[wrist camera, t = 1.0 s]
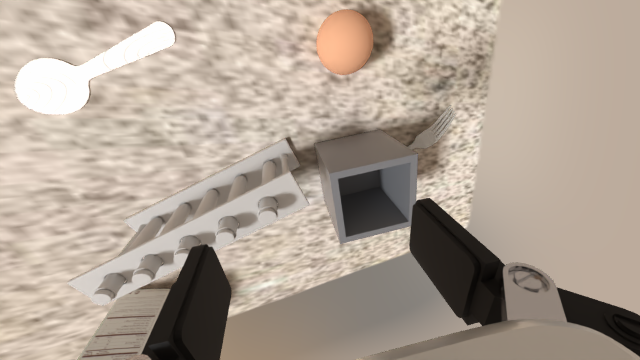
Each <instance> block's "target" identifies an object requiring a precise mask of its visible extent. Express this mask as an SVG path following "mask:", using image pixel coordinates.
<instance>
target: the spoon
mask: <svg viewBox="0 0 640 360" xmlns="http://www.w3.org/2000/svg"><path fill="white" fill-rule="evenodd" d="M174 42H175V33H174V31H173V29H172V28H171V27H170V26H169V25H168V24H166V23H164V22H161V21H160V22H158V21H156V22H154V23H152V24H151V25H149V26H148V27H146V28H145V29H142V30H140V32H137V33H136V34H133V36H130V37H128V39H125V40H123V41H121V43H118V44H117V45H116V46H114V47H112V48H109V50H106V51H105V52H104V53H102V54H99V55H97V57H94V59H92V60H90V61H87V62H86V63H85V64H82V65H81V66H74V65H71V64H69V63H67V62H64V61H62V60H59V59H53V58H39V59H35V60H32V61H30V62H28V64H25V66H24V67H23V68H22V69H20V71H19V73H18V74H17V75H16V76H17V77H16V78H15V79H16V80H14V81H15V87H14V89H13V90H15V95H16V96H17V98H18V99H17V100H19V101H20V102H21V103H22V104H24V106H25V107H27V108H29V109H30V110H33V111H35V112H39V113H43V114H49V115H62V114H69V113H73V112H75V111H77V110H79V109H81V108H83V106H85V105H86V104H87V102H88V100H89V97H90V89H89V81H90V80H91V79H92V78H95V77H97V76H99V75H101V74H104V73H107V72H109V71H111V70H113V69H117V68H120V67H122V66H124V65H126V64H129V63H131V62H134V61H136V60H138V59H139V60H140V59H142V58H144V57H147V56H149V55H151V54H154V53H156V52H158V51H161V50H165V49H166V48H168V47H170V46H173V44H174Z"/></svg>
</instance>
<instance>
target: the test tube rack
mask: <svg viewBox="0 0 640 360" xmlns="http://www.w3.org/2000/svg"><path fill="white" fill-rule="evenodd" d="M298 167H300V163H299V161H298V160H297V158H296V156H295V154H294V152H293V151H292V149H291V147H290V145H289V143H288V142H287V140H286V138H284V139H282V140H280V141H278V142H276V143H274V144H272V145H270V146H268V147H266V148H264V149H262V150H260V151H258V152H256V153H254V154H252V155H250V156H248V157H246V158H244V159H242V160H240V161H238V162H236V163H234V164H232V165H230V166H228V167H226V168H225V169H223V170H221V171H219V172H217V173H215V174H213V175H211V176H209V177H207V178H205V179H203V180H201V181H199V182H197V183H195V184H193V185H191V186H189V187H187V188H185V189H183V190H181V191H179V192H177V193H175V194H173V195H171V196H169V197H167V198H165V199H163V200H161V201H159V202H157V203H155V204H153V205H151V206H149V207H147V208H145V209H143V210H141V211H139V212H137V213H135V214H133V215H131V216H129V217H127V218H126V219H125V220H124V222H125V223H126V224H127V225H128V226H130V227H131V228H132V229H133V230H134V231H135V232H137V233H136V234H135V235H134V236H133V238H132V239H131V240H130V241H129V243H128V244H127V245H126V246H125V248H124V249H123V250H122V251H121V253H120V254H119V255H118V256H117V257H115V258H113V259H111V260H109V261H107V262H105V263H103V264H101V265H99V266H97V267H95V268H93V269H91V270H89V271H87V272H85V273H83V274H81V275H79V276H77V277H75V278H73V279H71V280H69V281H68V282H67V284H69V285H70V286H72V287H73V288H75V289H77V290H78V291H80V292H81V293H83V294H85V295H86V296H88V297H90V298H91V301H92V302H93V303H95V304H97V305H102V306H103V305H106V304H108V303H110V302H112V301H114V300H116V299H118V298H120V297H122V296H124V295H126V294H128V293H130V292H132V291H134V290H136V289H138V288H140V287H142V286H145V285H147V284H149V283H151V282H153V281H155V280H157V279H159V278H161V277H163V276H165V275H167V274H169V273H171V272H173V271H175V270H177V269H179V268H181V267H183V265H184V263H185V261H186V258H187V256H188V254H189V252H190V249H191V248H192V247H194V246H199V245H204V244H207V245H208V246H209V247H213V249H214V251H216V250H218V249H220V248H223V247H225V246H227V245H229V244H231V243H233V242H235V241H237V240H239V239H241V238H243V237H245V236H247V235H249V234H251V233H253V232H255V231H257V230H259V229H262V228H264V227H266V226H268V225H270V224H273V223H274V222H276V221H278V220H280V219H282V218H284V217H286V216H288V215H290V214H292V213H294V212H296V211H299V210H301V209H303V208H305V207H307V206H309V202H308V201H307V199H306V197H305V195H304V194H303V192H302V190H301V189H300V187H299V185H298V184H297V182H296V180H295V178H294V177H293V175H292V173H291V172H290V171H292V170H294V169H296V168H298ZM259 201H260V202H259ZM277 203H278V206H277ZM220 220H221V221H220ZM219 221H220V223H219ZM238 223H239V226H238ZM182 238H183V239H182ZM181 239H182V240H181ZM200 243H201V244H200ZM143 257H144V259H143ZM162 263H163V264H162ZM161 264H162V265H161ZM126 280H127V281H126ZM125 281H126V282H125Z"/></svg>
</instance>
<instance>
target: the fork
mask: <svg viewBox="0 0 640 360" xmlns="http://www.w3.org/2000/svg"><path fill="white" fill-rule="evenodd" d="M450 107H451V105H450V106H449V107H448V108H447V109H446V110H445V112H444V113H443V114H442V115H441V116H440V117H439V118H438V120H437V121H436V122H435V123H434V124H433V125H432V126H431V127H429V128H428V129H426V130H425V131H423V132H422V133H420V134H419V135H418V136H417V137H416V138H415V141H414V142H413V143H412V144H411V145H409V146H407V147H408V148H410V149H411V150H413V149H415V148H422V149H425V148H428V147H430V146H432V145H433V144H435V143H436V142H437V141H438V140H439V139H440V137H441V136H442V135H443V134H444V133H445V131H446V130H447V128H448V127H449V125H450V124H451V122H452V121H453V119H454V117H455V115H456V114H454V116H453V117H452V118H451V116H452V114H453V113H454V111H453V112H452V113H451V114H450V112H451V111H452V109H453V108H451V110H450V111H449V112H448V114H447V115H446V116H445V117H444V115H445V114H446V113H447V111H448V110H449V108H450ZM449 114H450V116H449V117H448V115H449ZM443 117H444V118H443ZM447 117H448V119H447V120H446V118H447ZM442 118H443V120H442V121H441V119H442ZM450 118H451V120H450V121H449V119H450ZM445 120H446V121H445ZM440 121H441V122H440ZM444 121H445V122H444ZM448 121H449V123H448V124H447V125H446V123H447V122H448ZM439 122H440V123H439ZM443 122H444V124H443ZM438 123H439V125H438V126H437V127H436V125H437V124H438ZM442 124H443V125H442ZM441 125H442V126H441ZM445 125H446V126H445ZM440 126H441V127H440ZM444 126H445V128H444ZM435 127H436V128H435ZM439 127H440V129H439V130H438V128H439ZM434 128H435V129H434ZM443 128H444V129H443ZM433 129H434V130H433ZM442 129H443V130H442ZM432 130H433V131H432ZM437 130H438V131H437ZM441 130H442V131H441ZM436 131H437V132H436ZM440 131H441V132H440ZM435 132H436V133H435ZM434 133H435V134H434ZM439 133H440V134H439ZM438 134H439V135H438ZM437 135H438V136H437ZM436 136H437V137H436ZM435 137H436V138H435Z"/></svg>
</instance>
